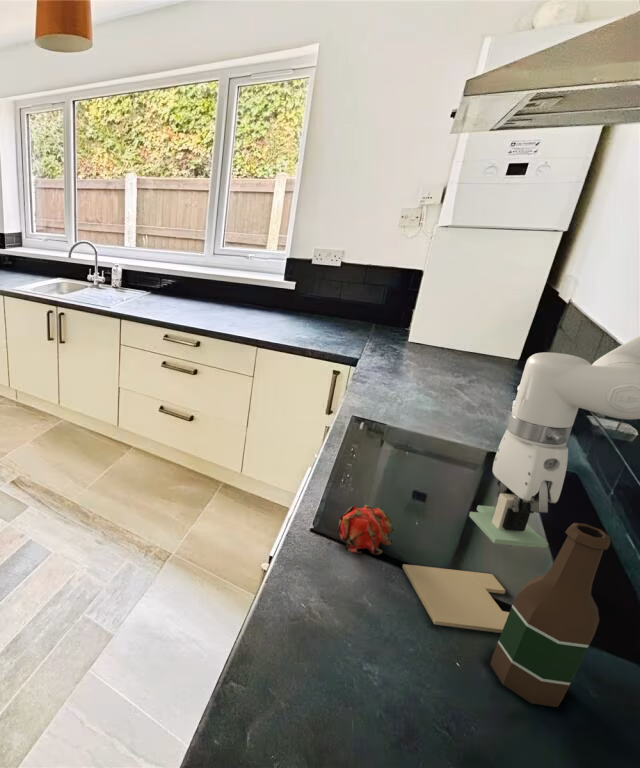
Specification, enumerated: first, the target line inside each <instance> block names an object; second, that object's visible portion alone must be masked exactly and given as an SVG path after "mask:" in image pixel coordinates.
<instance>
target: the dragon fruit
mask: <svg viewBox="0 0 640 768" xmlns="http://www.w3.org/2000/svg"><path fill="white" fill-rule="evenodd" d="M393 532H395V529H394V527H393V525H392V519H391V518H390V517H389V516H388V515H387V513H386V511H385V510H383V509H382V508H381V507H376V508H373V507H372V506H370V505H368V504H365V505H364V506H363V507H357V506H355V505H354V506H351V507H349V508H348V509H347V510H346V511H345V512H344V513H343V514H341V516H340V517H339V523H338V527H337V534H338V535H339V538H340V539H341V541H342V542H343V543H345V545H346V546H344V549H347V550H348V552H349V553H353V554H361V553H362V552H363V550H365V549H366V550H368V552H369V553H370V554H371V555H372V554H373V555H375V556H379V555H380V554H382V553H383V550H382V549H381V548H379V545H380V544H383V546H390V545H393V543H394V541H393V539H392V538H391V539H389V538H390V534H392V533H393Z"/></svg>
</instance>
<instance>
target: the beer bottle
mask: <svg viewBox="0 0 640 768" xmlns="http://www.w3.org/2000/svg"><path fill="white" fill-rule="evenodd" d="M564 533H565V534H566V535H567V536H566V538H565V540H564V542H563V544H562V546H561V548H560V549H559V551H558V554H557V556H556V557H555V559H554V561H553V563H552V565H551V567H550V568H549V570H548V572H546V573H543V574H540V575H538V576H535V577H533V578H532V579H530V580H529V581H528V582H526V583H525V584H524V585H523V587H522V588H521V590H520V591H519V592H518V594H517V596H516V597H515V599H514V601H513V603H512V605H511V607H510V610H509V611H508V612H509V615H508V618H507V620H506V623H505V625H504V628H503V630H502V633H500V635H499V638H498V641H497V643H496V646H495V648H494V651H493V654H492V657H491V660H490V664H489V665H490V666H491V668H492V669H493V671H494V674H496V676H497V678H498V679H499V681H500V682H501V684H502V685H503V686H504V687H505V688H507V689H509V690H511V692H513V693H515V694H516V695H518V696H519V697H521V698H523V699H524V700H525V701H527V702H528V703H530V704H533V705H541V706H545V707H552V708H559V706H560V704H561V703H562V701H563V700H564V698H565V695H566V694H567V692H568V690H569V688H570V686H571V684H572V682H573V680H574V678H575V675H576V673H577V672H578V669H579V667H580V665H581V663H582V661H583V659H584V657H585V655H586V653H587V651H588V649H589V647H590V644H591V643H592V641H593V639H594V637H595V634H596V632H597V629H598V626H599V623H600V616H599V608H598V606H597V603H596V601H595V599H594V598H593V595H592V590H593V589H592V588H593V582H594V580H595V576H596V574H597V570H598V567H599V564H600V563H601V559H602V556H603V554H604V551H605V550H608V549H609V547H610V546H611V536H609V535H608V534H607V533H606V532H605V531H603V530H602V529H600V528H597V527H594V526H592V525H590V524H587V523H579V522H573V523H572V524H571V525H570V526H569V527H567V529H566V530H565V532H564Z"/></svg>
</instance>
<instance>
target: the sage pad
mask: <svg viewBox="0 0 640 768" xmlns="http://www.w3.org/2000/svg"><path fill="white" fill-rule="evenodd" d="M514 497H515V494H503V493H500V496H499V498H497V501H498V502H497V501H496V505H497V506H496V505H495V506H491V505H480V504H478V505H477V507H476V511H469V514H468V517H469V518H470V519H471V520H472V521H473V522H474V523H475V524H476V525H477V526H478V528H479V529H480V530H481V531H482V532H483V533H484V534H485V536H486V537H487V538H488V539H489V540H490V541H491V542H492V543H493V544H494V545H502V546H503V545H504V546H515V547H527V548H540V549H548V547H549V543H548V541H546V540H545V539H544V538H543V537H542V536H541V535H540V534H539V533H538V532H537V531H536V530H534V528H532V527H531V526H530V525H529V524H528V523H527V525H526V528H525V530H524V531H513V530H505V529H504V528H503V527H502V526H503V523H504V519H505V516H506V513H507V510H508V508H511V507H512V503H513V500H514ZM525 502H526V503H528V501H524V500H523V501H522V503H525ZM495 508H496V509H495ZM494 511H495V512H494ZM493 515H494V516H493Z"/></svg>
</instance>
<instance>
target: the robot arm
mask: <svg viewBox="0 0 640 768" xmlns="http://www.w3.org/2000/svg"><path fill="white" fill-rule="evenodd" d="M579 409H583V410H586V411H589V412H592V413H596V414H599V415H602V416H606V417H610V418H614V419H619V420H639V419H640V334H639V335H637V336H635V337H634V338H633V339H630V340H629V341H627V342H625V343H623V344H621V345H619V346H618V347H616V348H614V349H612V350H610V351H608V352H606V353H605V354H604V355H602V356H600V357H599V358H598V359H596V360H595V361H594V362H593V363H592V364H591V363H590V362H589V361H588V360H586V359H585V358H582V357H579V356H577V355H572V354H567V353H561V352H560V353H559V352H549V351H548V352H546V351H545V352H537V353H534V354H532V355H530V356H529V357H528V358H527V359H526V363H525V365H524V369H523V372H522V376H521V379H520V383H519V386H518V389H517V393H516V396H515V399H514V404H513V407H512V410H511V413H510V417H509V420H508V423H507V428H506V430H505V432H504V434H503V436H502V438H501V440H500V443H499V445H498V448H497V451H496V454H495V457H494V459H493V463H492V471H491V472H492V474H493V476H494V478H495V480H496V482H497V488H498V489H497V493H496V496H497V499H499V496H500V493H503V494H515V497H514V500H513V503H512V507H511V508H508V510H507V513H506V516H505V519H504V523H503V526H502V527H503V528H504V529H505V530H513V531H524V530H525V528H526V525H527V524H528V521H529V519H530V516H531V514H534V513H535V514H548V513H549V512H548V511H549V503H550V504H556V503H557V502H558V501H559V499H560V496H561V493H562V490H563V485H564V483H565V482H564V481H565V478H566V473H567V468H568V461H569V448H568V447H567V444H568V441H569V438H570V434H571V432H572V429H573V426H574V423H575V420H576V418H577V414H578V411H579ZM523 500H524V501H528V503H526V502H525V503H522V501H523ZM497 502H498V500H497V501H496V503H497ZM496 506H497V504H496V505H495V507H496ZM495 509H496V508H495ZM494 512H495V511H494ZM493 516H494V515H493Z"/></svg>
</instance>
